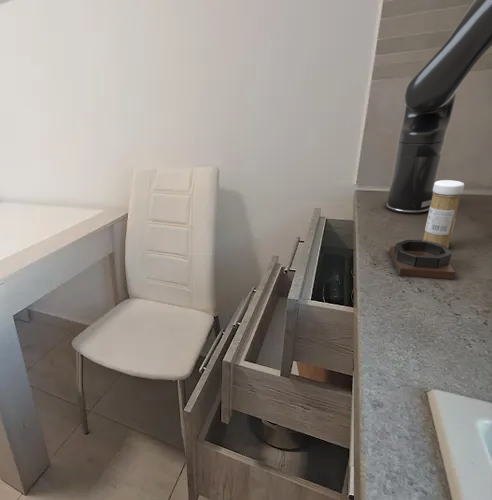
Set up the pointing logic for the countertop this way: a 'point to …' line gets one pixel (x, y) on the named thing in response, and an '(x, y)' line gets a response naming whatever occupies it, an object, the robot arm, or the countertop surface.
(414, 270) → the base pad
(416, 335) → the countertop surface
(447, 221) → the sprinkles bottle
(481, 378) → the countertop surface
